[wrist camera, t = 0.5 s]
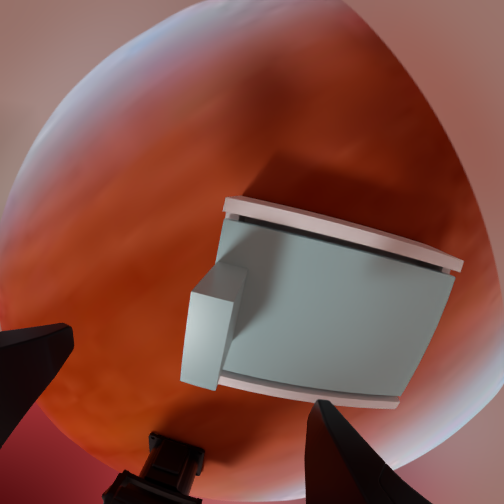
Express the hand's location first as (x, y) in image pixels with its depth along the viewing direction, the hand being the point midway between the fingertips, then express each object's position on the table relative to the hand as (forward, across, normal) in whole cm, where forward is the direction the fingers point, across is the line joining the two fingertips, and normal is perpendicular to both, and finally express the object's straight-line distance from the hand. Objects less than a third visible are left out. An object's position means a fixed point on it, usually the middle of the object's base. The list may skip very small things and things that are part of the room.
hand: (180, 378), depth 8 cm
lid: (+7, -6, 0) cm, 10 cm away
